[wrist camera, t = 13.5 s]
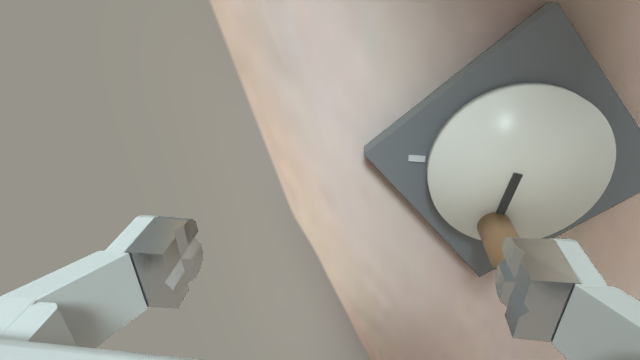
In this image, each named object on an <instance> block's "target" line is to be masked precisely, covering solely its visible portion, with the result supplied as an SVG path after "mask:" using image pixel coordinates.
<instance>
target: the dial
mask: <svg viewBox="0 0 640 360" xmlns="http://www.w3.org/2000/svg"><path fill="white" fill-rule="evenodd" d="M615 161H616V144H615V137H614V134H613V131H612V128H611V126H610V125H609V123H608V121H607V119H606V118H605V117H604V115H603V114H602V113H601V112H600V110H599V109H597V108H596V107H595V106H594V105H593V104H592V103H590V102H589V101H587V100H586V99H584V98H582V97H581V96H579V95H577V94H576V93H574V92H572V91H570V90H568V89H565V88H563V87H560V86H556V85H552V84H546V83H538V82H528V83H517V84H510V85H506V86H502V87H498V88H496V89H493V90H490V91H488V92H485V93H483V94H481V95H479V96H477V97H475V98H474V99H472V100H471V101H469V102H468V103H466V104H465V105H463V106H462V107H461V108H460V109H458V110H457V111H456V112H455V113H454V114H453V115H452V116H451V117H450V118H449V119H448V120H447V121H446V122H445V124H444V125H443V126H442V128H441V129H440V130H439V132H438V134H437V135H436V137H435V139H434V141H433V143H432V146H431V148H430V151H429V155H428V159H427V168H426V172H427V182H428V187H429V191H430V195H431V198H432V200H433V203H434V205H435V207H436V209H437V210H438V212H439V213H440V215H441V216H442V217H443V218H444V219H445V220H446V221H447V222H448V223H449V224H450V225H451V226H452V227H454V228H455V229H457V230H458V231H460V232H461V233H463V234H465V235H467V236H470V237H472V238H475V239H478V240H481V241H482V243H483V246H484V248H485V251H486V253H487V256H488V258H489V261H490V263H491V265H492V267H493V268H494V269H496V270H497V266H498V263H499V262H501V261H502V260H503V259H504V258H505V257H504V254H503V252H502V247H503V243H504V241H505V239H506V237H521V238H543V237H546V236H549V235H551V234H554V233H556V232H558V231H560V230H562V229H564V228H566V227H567V226H569V225H571V224H572V223H574V222H575V221H577V220H578V219H579V218H581V217H582V216H583V215H584V214H585V213H586V212H587V211H589V210H590V209H591V208H592V207H593V205H594V204H595V203H596V202H597V201H598V200H599V198H600V197H601V195H602V194H603V192H604V191H605V189H606V187H607V185H608V184H609V182H610V179H611V177H612V174H613V171H614V166H615Z"/></svg>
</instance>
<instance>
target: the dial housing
mask: <svg viewBox="0 0 640 360" xmlns="http://www.w3.org/2000/svg"><path fill="white" fill-rule="evenodd" d="M528 82H538V83H546V84H552V85H556V86H560V87H563V88H565V89H568V90H570V91H572V92H574V93H576V94H577V95H579V96H581V97H582V98H584V99H586V100H587V101H589V102H590V103H592V104H593V105H594V106H595V107H596V108H597V109H599V110H600V112H601V113H602V114H603V115H604V117H605V118H606V119H607V121H608V123H609V125H610V126H611V128H612V131H613V134H614V137H615V144H616V161H615V166H614V171H613V174H612V177H611V179H610V182H609V184H608V185H607V187H606V189H605V191H604V192H603V194H602V195H601V197H600V198H599V200H598V201H597V202H596V203H595V204H594V205H593V207H592V208H591V209H590V210H589V211H587V212H586V213H585V214H584V215H583V216H582V217H581V218H579V219H578V220H577V221H575V222H574V223H572V224H571V225H569V226H567V227H566V228H564V229H562V230H560V231H558V232H556V233H554V234H551V235H549V236H546V237H543V238H541V239H550V238H554V237H556V236H558V235H560V234H562V233H564V232H565V231H567V230H569V229H571V228H573V227H575V226H577V225H579V224H581V223H582V222H584V221H586V220H588V219H590V218H592V217H594V216H596V215H598V214H599V213H601V212H603V211H605V210H607V209H609V208H611V207H613V206H615V205H616V204H618V203H620V202H622V201H624V200H626V199H628V198H630V197H632V196H634V195H635V194H637V193H639V192H640V129H639V127H638V126H637V124H636V123H635V121H634V119H633V118H632V116H631V115H630V113H629V112H628V110H627V109H626V107H625V106H624V104H623V103H622V101H621V99H620V98H619V96H618V95H617V93H616V92H615V90H614V89H613V87H612V86H611V84H610V82H609V81H608V79H607V78H606V76H605V75H604V73H603V72H602V70H601V69H600V67H599V66H598V64H597V62H596V61H595V59H594V58H593V56H592V55H591V53H590V52H589V50H588V49H587V47H586V45H585V44H584V42H583V41H582V39H581V38H580V36H579V35H578V33H577V32H576V30H575V29H574V27H573V25H572V24H571V22H570V21H569V19H568V18H567V16H566V15H565V13H564V12H563V10H562V8H561V7H560V5H559V4H558V3H552V2H547V3H546V4H545V5H544V6H542V7H541V8H540V9H538V10H537V11H536V12H535V13H533V14H532V15H531V16H530V17H528V18H527V19H526V20H524V21H523V22H522V23H521V24H519V25H518V26H517V27H516V28H514V29H513V30H512V31H510V32H509V33H508V34H507V35H505V36H504V37H503V38H502V39H500V40H499V41H498V42H496V43H495V44H494V45H493V46H491V47H490V48H489V49H488V50H486V51H485V52H484V53H482V54H481V55H480V56H479V57H477V58H476V59H475V60H474V61H472V62H471V63H470V64H468V65H467V66H466V67H465V68H463V69H462V70H461V71H460V72H458V73H457V74H456V75H454V76H453V77H452V78H451V79H449V80H448V81H447V82H446V83H444V84H443V85H442V86H440V87H439V88H438V89H437V90H435V91H434V92H433V93H432V94H430V95H429V96H428V97H426V98H425V99H424V100H423V101H421V102H420V103H419V104H418V105H416V106H415V107H414V108H412V109H411V110H410V111H409V112H407V113H406V114H405V115H404V116H402V117H401V118H400V119H398V120H397V121H396V122H395V123H393V124H392V125H391V126H390V127H388V128H387V129H386V130H384V131H383V132H382V133H381V134H379V135H378V136H377V137H376V138H374V139H373V140H372V141H370V142H369V143H368V144H367V145H365V146H364V155H365V156H366V157H367V158H368V159H369V160H370V161H371V162H372V163H373V164H374V165H375V167H376V168H377V169H378V170H379V171H380V172H381V173H382V174H383V175H384V176H385V177H386V178H387V179H388V180H389V181H390V182H391V184H392V185H393V186H394V187H395V188H396V189H397V190H398V191H399V192H400V193H401V194H402V195H403V196H404V197H405V198H406V199H407V200H408V202H409V203H410V204H411V205H412V206H413V207H414V208H415V209H416V210H417V211H418V212H419V213H420V214H421V215H422V216H423V217H424V219H425V220H426V221H427V222H428V223H429V224H430V225H431V226H432V227H433V228H434V229H435V230H436V231H437V232H438V233H439V234H440V236H441V237H442V238H443V239H444V240H445V241H446V242H447V243H448V244H449V245H450V246H451V247H452V248H453V249H454V250H455V251H456V252H457V254H458V255H459V256H460V257H461V258H462V259H463V260H464V261H465V262H466V263H467V264H468V265H469V266H470V267H471V268H472V269H473V271H474V272H475V273H476V274H477V275H478V276H479V277H480V276H482V275H484V274H486V273H488V272H490V271H492V270H494V268H493V267H492V265H491V263H490V261H489V258H488V256H487V253H486V251H485V248H484V246H483V243H482V241H481V240H478V239H475V238H472V237H470V236H467V235H465V234H463V233H461V232H460V231H458V230H457V229H455V228H454V227H452V226H451V225H450V224H449V223H448V222H447V221H446V220H445V219H444V218H443V217H442V216H441V215H440V213H439V212H438V210H437V209H436V207H435V205H434V203H433V200H432V198H431V195H430V191H429V187H428V182H427V172H426V168H427V159H428V155H429V151H430V148H431V146H432V143H433V141H434V139H435V137H436V135H437V134H438V132H439V130H440V129H441V128H442V126H443V125H444V124H445V122H446V121H447V120H448V119H449V118H450V117H451V116H452V115H453V114H454V113H455V112H456V111H457V110H458V109H460V108H461V107H462V106H463V105H465V104H466V103H468V102H469V101H471V100H472V99H474V98H475V97H477V96H479V95H481V94H483V93H485V92H488V91H490V90H493V89H496V88H498V87H502V86H506V85H510V84H517V83H528Z"/></svg>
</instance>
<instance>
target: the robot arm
mask: <svg viewBox="0 0 640 360" xmlns="http://www.w3.org/2000/svg"><path fill="white" fill-rule="evenodd" d="M197 232H198V228H197V225H196V221H194V220H193V219H189V218H175V217H162V216H158V217H157V216H148V215H147V216H146V215H141V216H138V217H136V218H135V219H134V220H133V222H132V223H131V224H130V225H129V226H128V227H127V228H126V229H125V230H124V231H123V232H122V233H121V234H120V235H119V237H117V238H116V240H115V241H114V242H113V243H112V244H111V245H110V246H109V247H108V248H107V249H106V250H105V251H98V252H96V253H93V254H91V255H89V256H87V257H85V258H83V259H80V260H78V261H76V262H74V263H72V264H70V265H68V266H65V267H64V268H61V269H59V270H57V271H55V272H52V273H50V274H48V275H46V276H44V277H42V278H40V279H37V280H35V281H33V282H31V283H29V284H27V285H24V286H22V287H20V288H18V289H16V290H13V291H11V292H9V293H7V294H5V295H3V296H1V297H0V360H203V359H194V358H184V357H174V356H165V355H156V354H146V353H136V352H127V351H116V350H107V349H98V348H96V347H97V346H99V345H100V344H101V343H103V342H104V341H105V340H106V339H108V338H109V337H111V336H112V335H113V334H114V333H116V332H117V331H119V330H120V329H121V328H123V327H124V326H125V325H127V324H128V323H129V322H130V321H132V320H133V319H134V318H136V317H137V316H138V315H140V314H141V313H142V312H144V311H145V310H146V309H148V307H161V308H179V306H180V305H181V303H182V301H183V300H184V298H185V296H186V294H187V293H188V291H189V287H188V282H190V281H192V280H193V279H195V278H196V277H197V275H198V273H199V271H200V269H201V265H202V261H203V251H202V246H201V244H200V243H199V242H198V241H197V240H196V239H195V236H196V234H197ZM502 252H503V254H504V257H505V258H504V259H503V260H502V261H501V262H499V263H498V266H497V271H496V289H497V294H498V297H499V300H500V301H501V302H502V303H503V304H504V305H505V306H507V309H506V313H505V317H506V320H507V323H508V325H509V328H510V331H511V334H512V337H513V338H519V339H528V340H537V341H546V342H552V345H553V346H554V347H555V348H556V349H557V350H558V351H559V352H560V353H561V354H562V355H563V356H564V357H565V358H566V359H567V360H640V301H639V300H637V299H635V298H634V297H632V296H630V295H629V294H627V293H625V292H624V291H622V290H620V289H619V288H617V287H611V286H608V285H607V283H606V282H605V280H604V279H603V278H602V276H601V275H600V273H599V272H598V271H597V269H596V268H595V266H594V265H593V263H592V262H591V261H590V259H589V258H588V256H587V255H586V254H585V252H584V251H583V249H582V248H581V247H580V245H579V244H578V242H577V241H575V240H573V239H557V238H550V239H541V238H521V237H506V239H505V241H504V243H503V247H502Z"/></svg>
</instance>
